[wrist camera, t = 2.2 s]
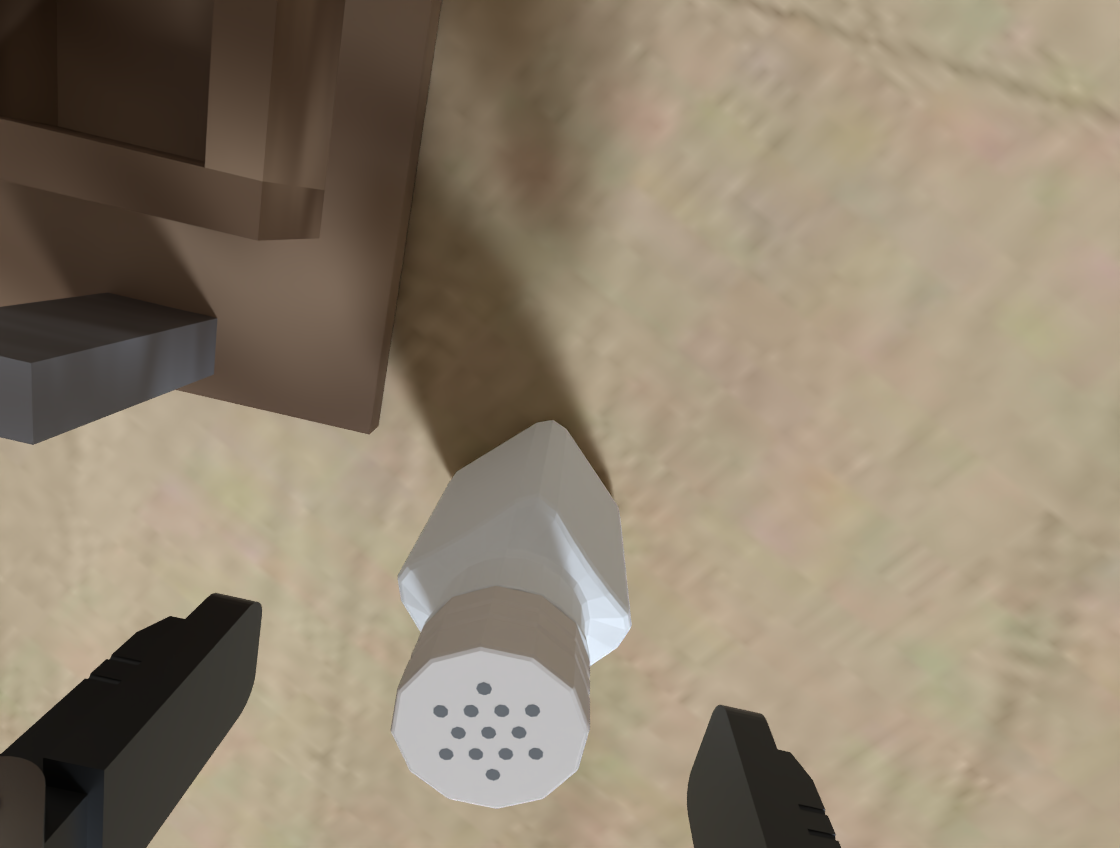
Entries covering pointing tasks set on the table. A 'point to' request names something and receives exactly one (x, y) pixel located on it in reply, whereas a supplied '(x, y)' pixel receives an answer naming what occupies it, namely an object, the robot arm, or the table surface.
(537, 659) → the pepper shaker
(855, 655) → the table surface
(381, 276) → the shaker holder
